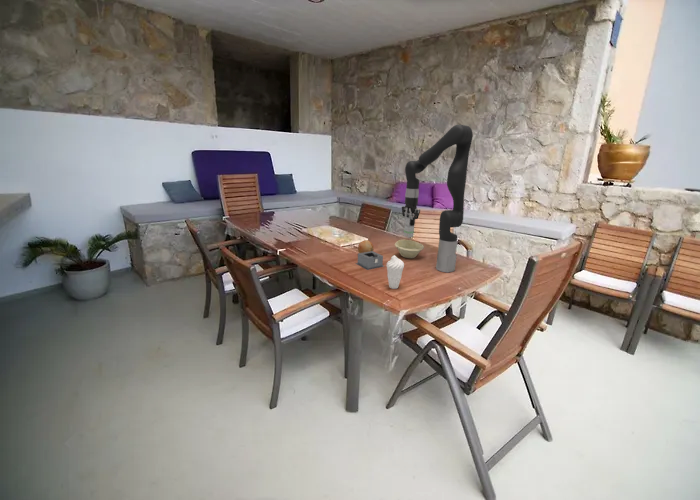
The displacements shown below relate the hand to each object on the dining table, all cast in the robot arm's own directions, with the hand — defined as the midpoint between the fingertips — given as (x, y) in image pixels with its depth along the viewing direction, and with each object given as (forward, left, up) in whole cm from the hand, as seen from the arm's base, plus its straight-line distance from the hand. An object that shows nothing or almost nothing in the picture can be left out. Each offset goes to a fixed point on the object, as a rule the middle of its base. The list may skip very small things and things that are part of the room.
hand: (409, 224), depth 191 cm
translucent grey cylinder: (0, 0, -7) cm, 7 cm away
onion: (+14, +22, -21) cm, 33 cm away
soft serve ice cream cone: (-32, +38, -21) cm, 53 cm away
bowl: (0, -2, -21) cm, 21 cm away
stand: (-3, +31, -21) cm, 37 cm away
